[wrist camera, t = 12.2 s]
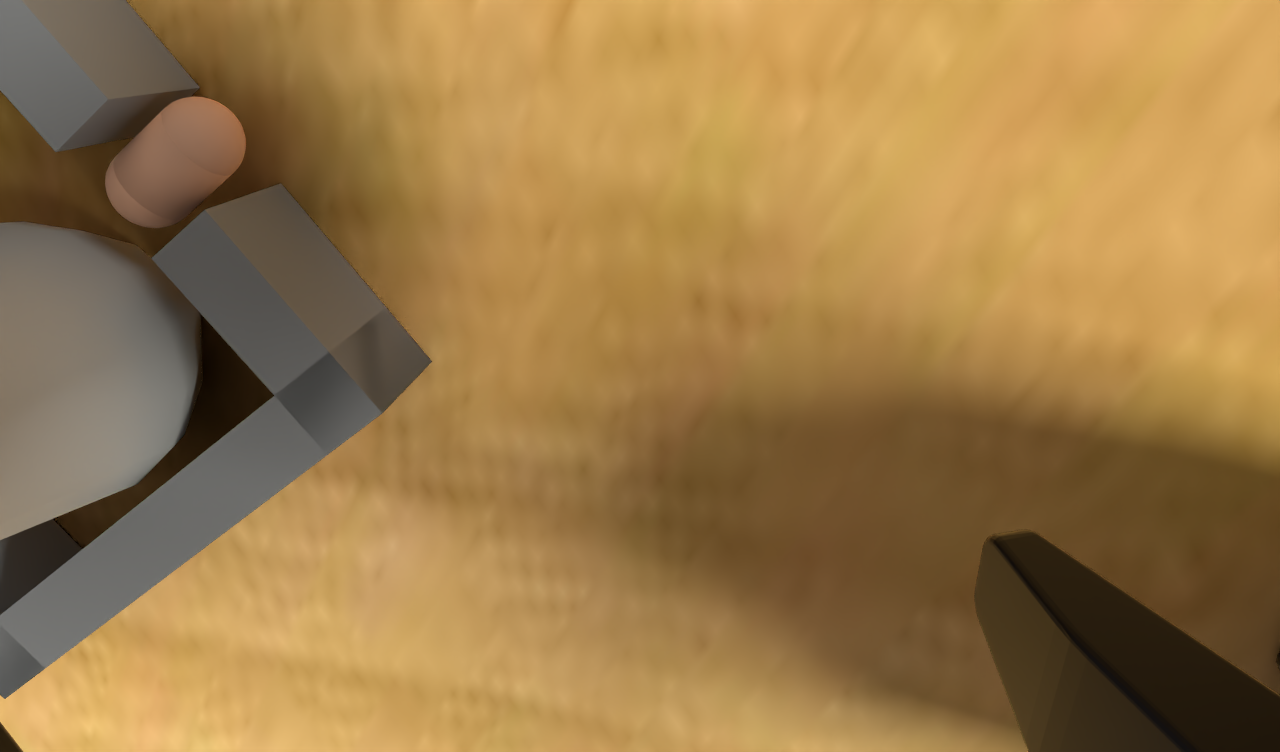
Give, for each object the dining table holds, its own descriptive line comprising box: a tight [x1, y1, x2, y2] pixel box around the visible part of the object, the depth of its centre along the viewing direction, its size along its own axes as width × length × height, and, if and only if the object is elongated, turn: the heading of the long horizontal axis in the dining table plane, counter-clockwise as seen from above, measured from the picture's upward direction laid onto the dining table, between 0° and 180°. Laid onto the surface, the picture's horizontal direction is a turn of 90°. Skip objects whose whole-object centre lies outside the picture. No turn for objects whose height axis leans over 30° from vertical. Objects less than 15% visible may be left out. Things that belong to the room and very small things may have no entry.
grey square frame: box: [0, 0, 432, 699], centre depth 21 cm, size 12×12×3 cm
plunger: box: [105, 97, 246, 228], centre depth 19 cm, size 2×3×2 cm, turn 128°
